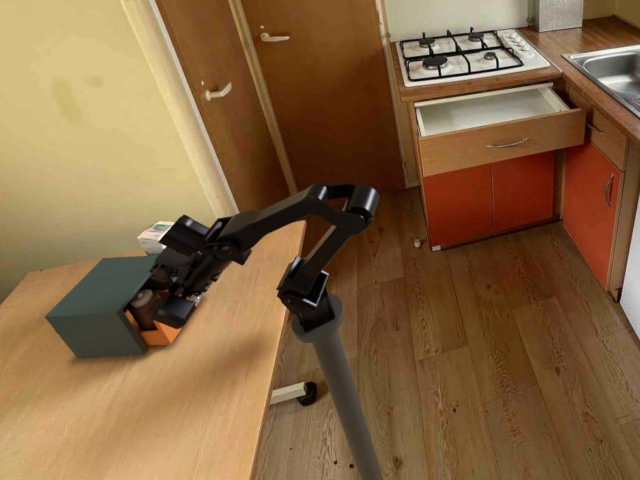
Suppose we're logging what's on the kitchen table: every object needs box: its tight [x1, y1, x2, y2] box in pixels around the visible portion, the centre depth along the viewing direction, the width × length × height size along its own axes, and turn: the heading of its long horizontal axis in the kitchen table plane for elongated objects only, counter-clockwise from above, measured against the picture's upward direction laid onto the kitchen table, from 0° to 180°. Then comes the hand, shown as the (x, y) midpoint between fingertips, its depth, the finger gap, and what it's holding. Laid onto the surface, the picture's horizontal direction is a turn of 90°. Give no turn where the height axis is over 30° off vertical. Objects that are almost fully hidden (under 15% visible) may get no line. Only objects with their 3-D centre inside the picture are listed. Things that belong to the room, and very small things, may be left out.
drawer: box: [124, 289, 202, 347], centre depth 91 cm, size 13×11×8 cm
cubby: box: [44, 255, 177, 360], centre depth 89 cm, size 13×14×13 cm
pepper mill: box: [126, 289, 161, 331], centre depth 88 cm, size 5×5×10 cm
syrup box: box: [136, 220, 178, 278], centre depth 101 cm, size 6×6×14 cm
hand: (176, 299), depth 90 cm, fingers closed, pressing on drawer
